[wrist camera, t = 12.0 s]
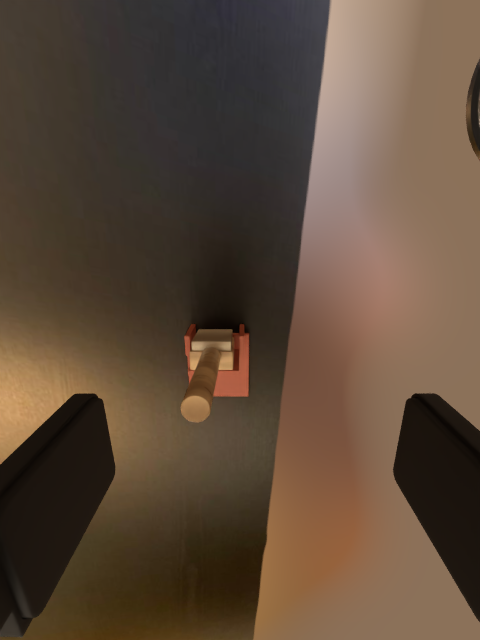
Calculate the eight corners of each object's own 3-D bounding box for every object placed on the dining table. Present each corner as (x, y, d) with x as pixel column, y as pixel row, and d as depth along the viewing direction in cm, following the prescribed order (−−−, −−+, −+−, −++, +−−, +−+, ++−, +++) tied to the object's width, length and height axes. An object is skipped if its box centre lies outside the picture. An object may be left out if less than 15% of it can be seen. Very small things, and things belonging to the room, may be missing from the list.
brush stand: (186, 323, 36) (174, 343, 30) (249, 323, 36) (250, 343, 30) (190, 394, 39) (180, 424, 33) (248, 394, 39) (249, 425, 33)
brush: (161, 388, 19) (163, 429, 19) (228, 388, 19) (228, 429, 19) (196, 328, 33) (197, 352, 34) (234, 328, 33) (234, 352, 34)
